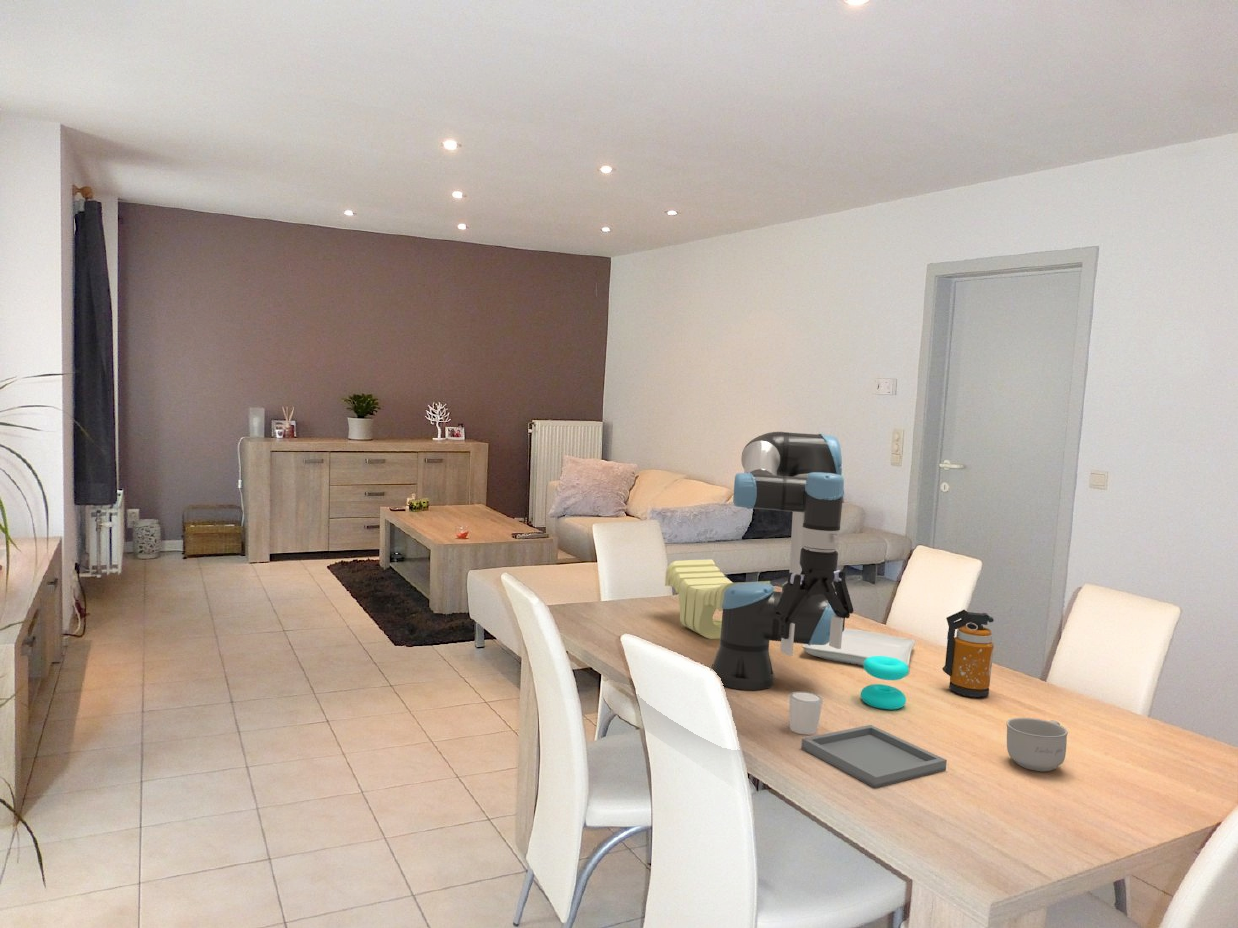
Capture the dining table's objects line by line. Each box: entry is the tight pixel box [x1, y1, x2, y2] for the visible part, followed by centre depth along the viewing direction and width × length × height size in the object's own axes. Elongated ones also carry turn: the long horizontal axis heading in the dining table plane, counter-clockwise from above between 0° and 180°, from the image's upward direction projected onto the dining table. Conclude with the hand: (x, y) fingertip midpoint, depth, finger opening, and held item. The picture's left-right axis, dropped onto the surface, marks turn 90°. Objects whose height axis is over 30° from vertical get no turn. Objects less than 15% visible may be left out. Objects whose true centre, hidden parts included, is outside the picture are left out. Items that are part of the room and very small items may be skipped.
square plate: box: [802, 627, 916, 667], centre depth 245 cm, size 27×27×4 cm
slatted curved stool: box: [664, 558, 771, 640], centre depth 258 cm, size 30×16×18 cm, turn 26°
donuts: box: [860, 656, 910, 710], centre depth 206 cm, size 10×10×10 cm
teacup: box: [1006, 717, 1069, 772], centre depth 176 cm, size 14×11×8 cm
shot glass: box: [788, 691, 824, 736], centre depth 186 cm, size 7×7×7 cm
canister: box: [941, 609, 995, 698], centre depth 217 cm, size 9×11×20 cm
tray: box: [800, 724, 948, 789], centre depth 173 cm, size 19×19×2 cm
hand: (811, 650), depth 185 cm, fingers open, 13 cm apart
